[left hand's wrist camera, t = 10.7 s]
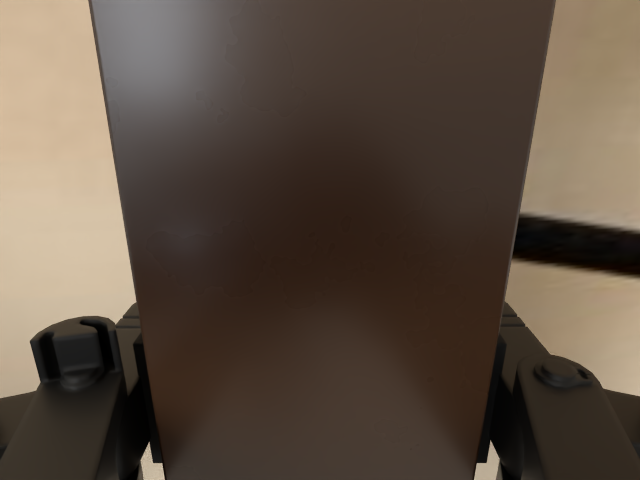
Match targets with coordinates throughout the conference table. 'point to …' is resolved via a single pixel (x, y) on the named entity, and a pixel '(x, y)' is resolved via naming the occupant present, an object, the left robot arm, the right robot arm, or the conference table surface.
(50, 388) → the left robot arm
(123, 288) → the conference table surface
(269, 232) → the beam
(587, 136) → the conference table surface
